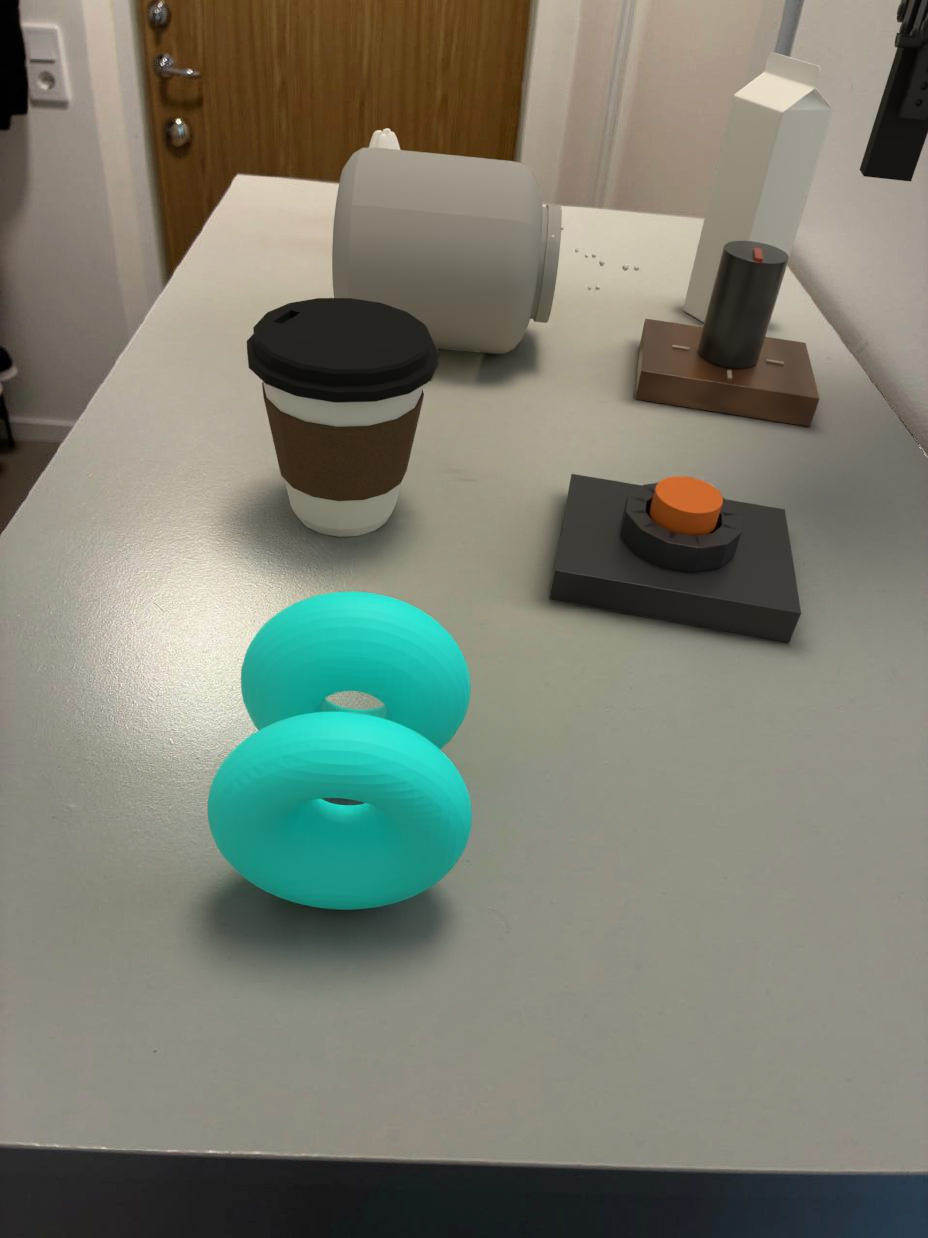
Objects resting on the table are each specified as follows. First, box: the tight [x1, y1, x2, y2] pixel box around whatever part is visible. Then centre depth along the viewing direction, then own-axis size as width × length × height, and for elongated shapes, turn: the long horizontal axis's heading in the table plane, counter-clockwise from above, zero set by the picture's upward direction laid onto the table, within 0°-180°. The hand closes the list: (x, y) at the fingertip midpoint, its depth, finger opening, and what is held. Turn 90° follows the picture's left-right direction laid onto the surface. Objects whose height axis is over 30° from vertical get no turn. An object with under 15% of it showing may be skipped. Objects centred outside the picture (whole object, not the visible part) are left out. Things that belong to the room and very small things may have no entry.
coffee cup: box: [246, 297, 440, 538], centre depth 57 cm, size 11×11×12 cm
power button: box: [650, 475, 724, 536], centre depth 56 cm, size 4×4×2 cm
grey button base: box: [549, 473, 802, 643], centre depth 58 cm, size 14×11×4 cm
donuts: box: [207, 590, 473, 911], centre depth 39 cm, size 10×10×10 cm
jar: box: [331, 147, 640, 354], centre depth 78 cm, size 19×15×25 cm
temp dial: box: [698, 241, 790, 368], centre depth 76 cm, size 5×5×9 cm
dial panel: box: [634, 318, 820, 427], centre depth 80 cm, size 14×11×3 cm
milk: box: [682, 51, 834, 325], centre depth 85 cm, size 6×6×22 cm
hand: (885, 174), depth 56 cm, fingers closed
